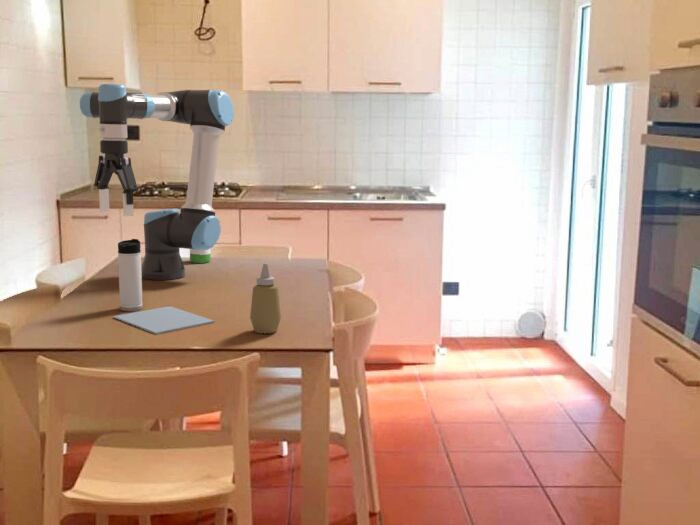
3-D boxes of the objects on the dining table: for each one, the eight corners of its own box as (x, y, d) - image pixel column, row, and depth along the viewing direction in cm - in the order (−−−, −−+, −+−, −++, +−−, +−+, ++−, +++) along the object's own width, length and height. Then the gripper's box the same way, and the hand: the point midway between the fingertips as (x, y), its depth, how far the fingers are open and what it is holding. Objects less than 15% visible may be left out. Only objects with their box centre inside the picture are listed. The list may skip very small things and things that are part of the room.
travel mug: (147, 307, 231) (145, 239, 227) (134, 312, 225) (132, 242, 221) (129, 305, 233) (126, 238, 229) (115, 310, 227) (113, 241, 223)
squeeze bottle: (250, 327, 211) (250, 261, 208) (281, 327, 212) (281, 261, 209) (249, 335, 204) (249, 266, 200) (281, 335, 204) (281, 266, 201)
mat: (113, 318, 218) (113, 316, 218) (170, 307, 231) (170, 306, 231) (156, 334, 203) (156, 332, 203) (214, 322, 215) (214, 320, 215)
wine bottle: (193, 259, 307) (192, 182, 301) (213, 260, 306) (212, 182, 300) (187, 263, 299) (185, 183, 294) (207, 264, 298) (205, 184, 293)
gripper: (80, 138, 231) (83, 210, 235) (124, 141, 214) (127, 219, 218) (104, 138, 237) (106, 208, 241) (148, 140, 220) (150, 217, 223)
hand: (116, 213), depth 229 cm, fingers open, 13 cm apart
